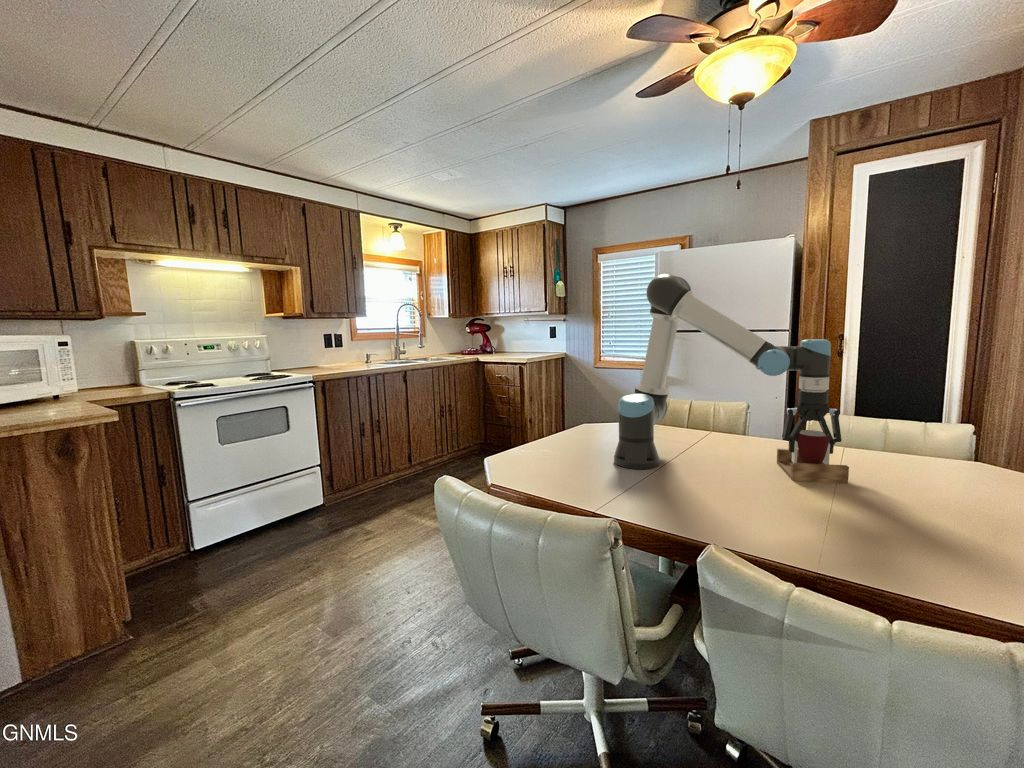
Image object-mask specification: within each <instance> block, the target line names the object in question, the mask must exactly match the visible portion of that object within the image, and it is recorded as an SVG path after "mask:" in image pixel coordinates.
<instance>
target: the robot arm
mask: <svg viewBox="0 0 1024 768" xmlns="http://www.w3.org/2000/svg"><path fill="white" fill-rule="evenodd" d="M693 295H694V294H693V292H692V288H691V286H690V284H689V282H688V281H687V280H686V279H684V278H683V277H681V276H677V275H674V274H671V273H663V274H660V275H657V276H656V277H654V278H653V279H652V280H651V281H650V282H649V284H648V286H647V288H646V298H647V301H648V302H649V304H650V309H649V310H650V311H649V314H650V316H652V323H651V328H650V332H649V339H648V344H647V349H646V355H645V359H644V364H643V368H642V369H643V370H642V374H641V380H640V383H639V384H637V385H636V386H635V388H634V393H631V394H626V395H623V396H622V397H620V398H619V400H618V405H617V410H618V442H617V446H616V449H615V452H614V455H613V462H614V464H615V465H616V464H617V465H616V466H618V465H619V466H618V467H621V468H626V469H629V470H630V469H631V470H648V469H653V468H654V469H655V468H656V467H658V466H659V465H660V456H659V454H658V450H657V447H656V445H655V441H654V438H655V436H654V435H655V434H654V432H655V431H654V430H655V425H656V424H658V423H660V422H661V421H662V420H663V419H664V418H665V417H666V415H667V412H668V408H669V407H668V402H667V399H668V395H669V392H668V391H667V388H666V383H667V380H668V373H669V369H670V364H671V359H672V355H673V349H674V345H675V340H676V337H677V336H676V334H677V331H678V325H679V322H680V321H683V322H685V323H687V324H688V325H690V326H692V327H693V328H695V329H696V330H698V331H700V332H701V333H703V334H705V335H706V336H708V337H709V338H711V339H712V340H714V341H715V342H717V343H718V344H721V345H722V346H723V347H726V349H728V350H730V351H732V352H733V353H734V354H736V355H737V356H740V357H741V358H743V359H744V360H746V361H747V362H748V363H750V364H751V365H753V366H755V369H757V370H758V371H760V372H761V373H763V374H764V375H767V376H770V377H776V376H780V375H783V374H784V373H785V372H787V371H794V372H795V371H796V372H797V371H799V378H798V379H799V380H798V389H800V390H798V395H797V398H798V400H797V401H798V403H797V405H796V407H794V408H793V407H792V408H789V407H786V408H785V412H786V418H785V423H784V426H783V430H782V435H781V438H782V439H783V440H784V441H788V449H789V451H790V452H792V462H793V463H797V452H798V443H797V437H798V433H800V432H801V430H803V427H804V426H805V425H806V424H807V422H811V421H815V422H818V424H819V427H820V428H821V432H824V434H825V435H826V436H828V434H829V444H828V448H827V452H826V455H825V458H824V460H823V463H824V464H830V455H833V454H834V447H835V446H834V445H836V443H841V442H842V432H841V426H840V414H841V410H840V409H837V408H830V407H829V394H830V393H829V391H828V390H830V374H831V373H830V372H831V371H830V370H831V361H832V359H831V357H832V352H831V351H832V350H831V347H832V346H831V345H832V344H831V341H829V340H828V339H824V338H820V339H819V338H815V339H814V338H811V339H809V338H808V339H803V340H801V341H800V344H799V345H796V346H795V345H794V346H792V345H791V346H790V345H789V346H788V345H787V346H785V345H784V346H783V345H782V346H778V345H777V346H775V345H774V344H772V343H771V342H769V341H767V340H766V339H764V338H762V337H760V336H759V335H757V334H756V333H754V332H753V331H751V330H749V329H747V328H746V327H745V326H743V325H741V324H739V323H738V322H736V321H734V320H733V319H731V318H729V317H728V316H726V315H724V313H721V312H720V311H718V310H716V309H714V308H713V307H712V306H710V305H708V304H707V303H705V302H703V301H702V300H700V299H698V298H697V297H695V296H693ZM796 413H798V414H799V417H798V419H797V422H796V424H795V426H794V428H793V427H792V426H793V422H794V416H796ZM828 413H829V416H830V421H831V428H832V433H831V431H830V429H829V426H828V424H827V421H826V418H825V416H826V415H828ZM792 428H793V429H792ZM791 430H792V431H791ZM832 434H833V435H832Z"/></svg>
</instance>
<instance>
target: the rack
mask: <svg viewBox="0 0 1024 768" xmlns="http://www.w3.org/2000/svg"><path fill="white" fill-rule="evenodd" d="M776 464H777V465H778V467H779V468H780V469H781V470H782V471H783V472H784V473H785V474H786V475H787V477H789V479H790V480H792V482H793V481H795V482H796V481H797V482H798V481H799V482H813V483H814V482H815V483H827V484H829V483H831V484H849V474H850V473H849V472H850V466H848V465H847V464H830V463H829V464H824V463H823V461H822V463H821V464H809V463H803V462H802V460H801V458H800V456H799V451H798V452H797V463H793V462H792V452H790V451H789V448H776Z"/></svg>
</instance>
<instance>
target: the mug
mask: <svg viewBox="0 0 1024 768" xmlns="http://www.w3.org/2000/svg"><path fill="white" fill-rule="evenodd" d="M796 442H797V443H798V451H799V456H800V458H801V460H802V462H803V463H809V464H821V463H822V461H823V460H824V458H825V455H826V452H827V448H828V444H829V434H828V436H826V435H825V434H824V432H823V431H822V430H815V429H814V430H811V429H805V430H803V429H802V430H801V432H800V433H798V437H797V439H796Z"/></svg>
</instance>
